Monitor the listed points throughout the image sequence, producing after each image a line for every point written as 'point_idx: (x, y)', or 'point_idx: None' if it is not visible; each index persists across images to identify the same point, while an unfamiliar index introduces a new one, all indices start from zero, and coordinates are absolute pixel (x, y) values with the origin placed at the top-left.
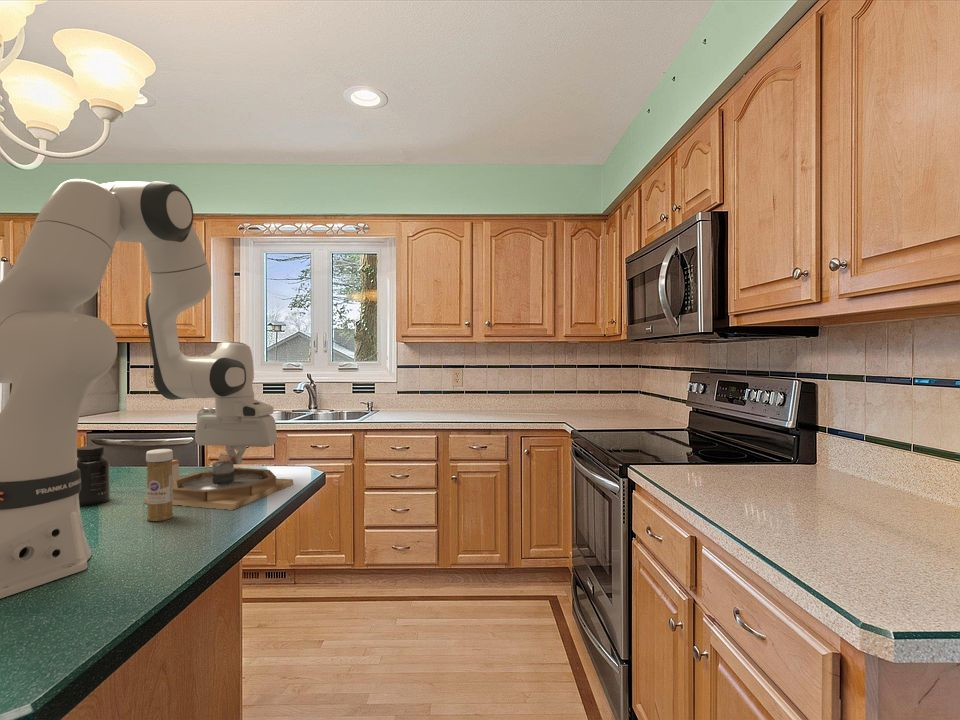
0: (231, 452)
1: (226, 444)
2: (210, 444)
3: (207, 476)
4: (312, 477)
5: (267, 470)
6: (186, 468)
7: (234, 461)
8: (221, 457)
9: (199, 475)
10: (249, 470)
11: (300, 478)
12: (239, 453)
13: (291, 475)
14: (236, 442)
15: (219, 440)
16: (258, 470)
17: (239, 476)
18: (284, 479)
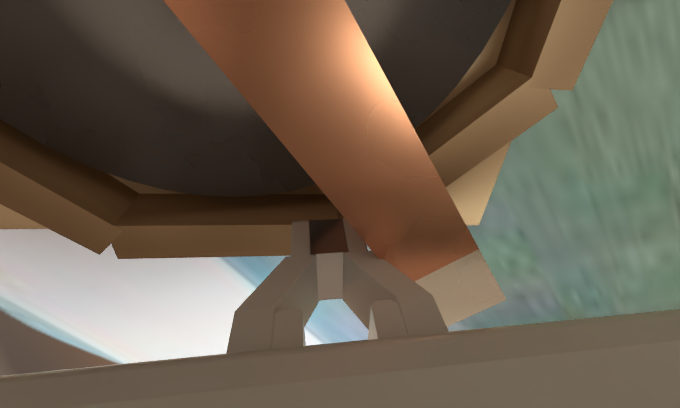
0: (374, 296)
1: (430, 347)
2: (668, 318)
3: (460, 51)
4: (42, 323)
5: (96, 240)
6: (652, 310)
7: (322, 230)
8: (409, 175)
9: (531, 52)
10: (231, 223)
11: (78, 301)
12: (262, 287)
13: (170, 325)
14: (247, 402)
15: (581, 394)
16: (157, 227)
17: (203, 98)
18: (5, 216)
